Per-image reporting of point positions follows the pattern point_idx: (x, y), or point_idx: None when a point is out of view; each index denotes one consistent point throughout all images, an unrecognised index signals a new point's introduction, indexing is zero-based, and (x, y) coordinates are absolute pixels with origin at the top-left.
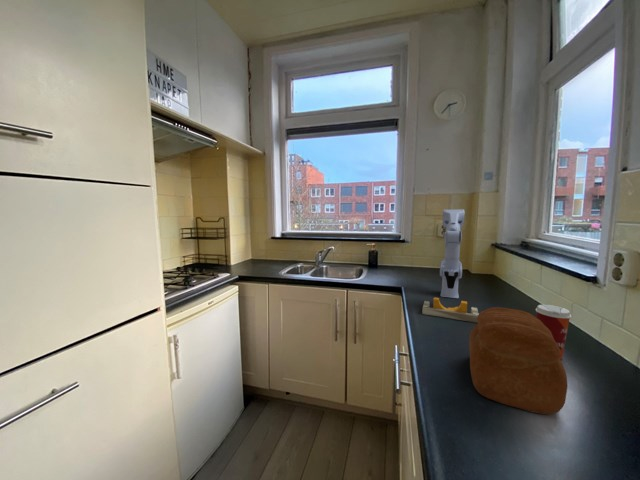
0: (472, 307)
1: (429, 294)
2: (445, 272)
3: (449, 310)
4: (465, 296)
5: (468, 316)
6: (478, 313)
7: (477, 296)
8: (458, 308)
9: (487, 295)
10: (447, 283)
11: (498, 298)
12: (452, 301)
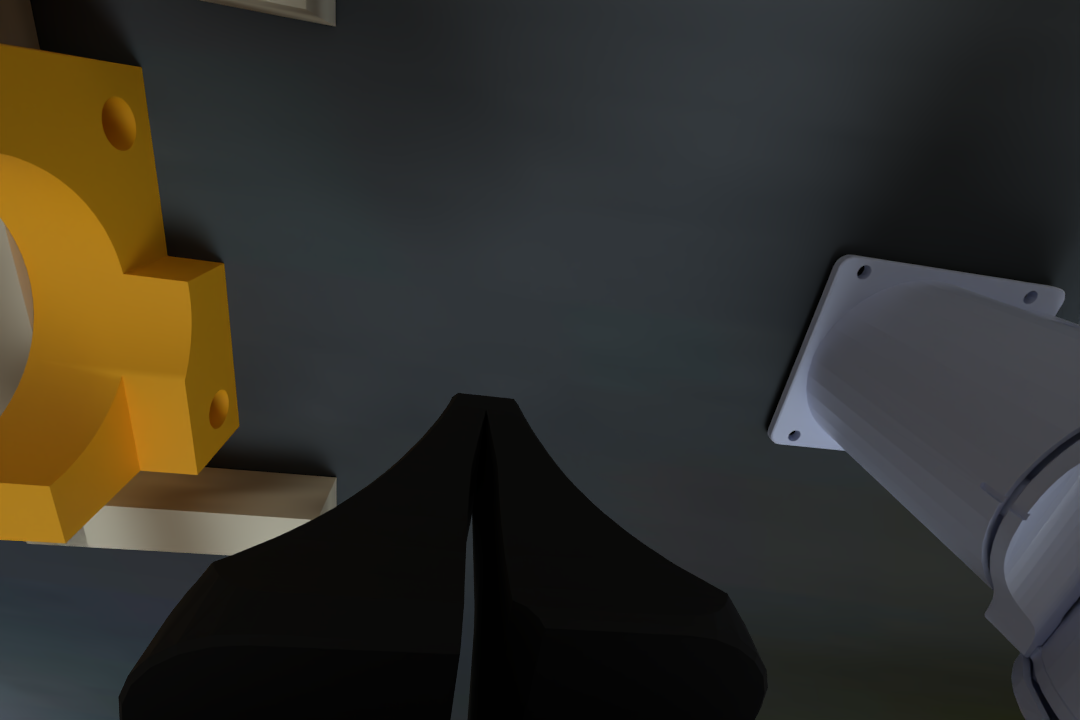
0: None
1: (938, 103)
2: (330, 694)
3: (11, 278)
4: (857, 503)
5: None
6: (130, 548)
7: (861, 588)
8: (33, 396)
9: (892, 651)
10: (426, 440)
11: (814, 697)
12: (665, 364)
